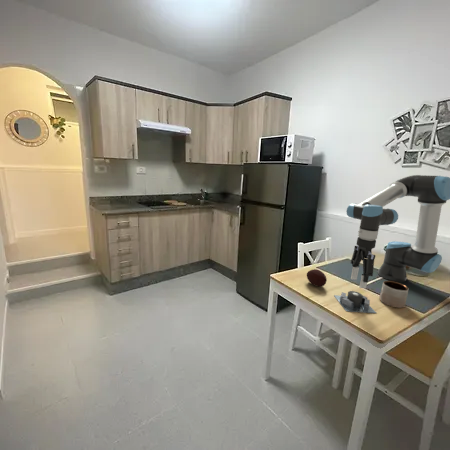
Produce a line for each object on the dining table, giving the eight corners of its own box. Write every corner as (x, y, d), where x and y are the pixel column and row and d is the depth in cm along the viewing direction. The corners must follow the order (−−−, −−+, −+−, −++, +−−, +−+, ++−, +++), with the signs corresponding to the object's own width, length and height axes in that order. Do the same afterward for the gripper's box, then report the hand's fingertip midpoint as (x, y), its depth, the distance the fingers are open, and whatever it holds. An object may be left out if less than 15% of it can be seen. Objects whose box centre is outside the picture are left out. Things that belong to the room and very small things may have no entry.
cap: (356, 300, 121) (358, 291, 119) (363, 307, 114) (365, 297, 113) (344, 299, 121) (345, 290, 119) (350, 306, 114) (352, 297, 113)
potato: (319, 291, 128) (321, 275, 126) (301, 282, 138) (303, 267, 136) (329, 288, 133) (331, 272, 131) (311, 279, 143) (313, 264, 140)
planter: (395, 310, 114) (400, 292, 112) (374, 298, 124) (378, 282, 121) (409, 306, 118) (414, 288, 116) (387, 295, 128) (391, 279, 126)
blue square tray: (360, 297, 124) (361, 291, 123) (376, 313, 111) (377, 307, 110) (333, 295, 125) (334, 290, 124) (346, 311, 111) (347, 304, 110)
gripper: (348, 232, 120) (340, 273, 125) (371, 244, 100) (361, 293, 105) (363, 232, 120) (355, 274, 125) (389, 245, 100) (378, 294, 105)
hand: (358, 283), depth 115 cm, fingers open, 8 cm apart
